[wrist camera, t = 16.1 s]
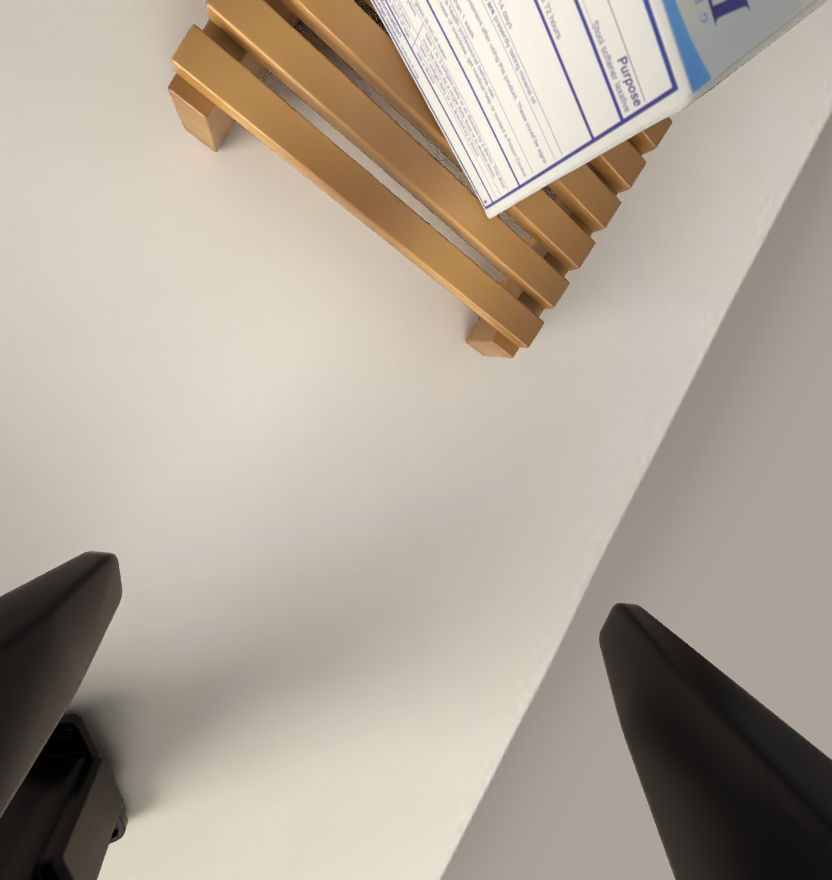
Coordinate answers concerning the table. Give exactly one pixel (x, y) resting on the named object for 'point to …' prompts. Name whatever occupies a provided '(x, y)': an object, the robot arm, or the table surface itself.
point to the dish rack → (394, 155)
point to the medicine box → (568, 74)
